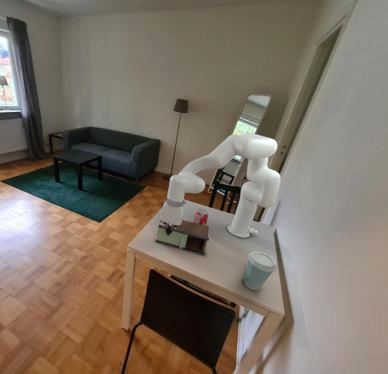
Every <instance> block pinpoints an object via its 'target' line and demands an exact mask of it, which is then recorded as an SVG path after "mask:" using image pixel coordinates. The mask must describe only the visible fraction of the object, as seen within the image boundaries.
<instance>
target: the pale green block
mask: <svg viewBox="0 0 388 374" xmlns="http://www.w3.org/2000/svg"><path fill="white" fill-rule="evenodd" d="M156 232H157V234H156V239H155V241H156V240H159V241H163V242H166V243H170V244H173V245H177V246H179V247H180V248H182V247H184V248H185V245H186V241H187V236H188V235H185V234H182V233H178V232H174V231H172V234H170V236H169V235H166V234H167V233H166V229H163V228H159V227H157V231H156Z"/></svg>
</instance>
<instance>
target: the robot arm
mask: <svg viewBox="0 0 388 374" xmlns="http://www.w3.org/2000/svg"><path fill="white" fill-rule="evenodd" d="M277 149H278V143H277V141H276V140H275V139H274V138H271V137H267V136H264V135H259V134H257V133H256V134H255V133H252V132H245V133H243V134H238V133H233V134H231V135H229V136H227V137H226V138H225V139H224V140H223V141H222V142H221V143H220V144H219V145H218V146H217V147H215V148H214V150H212V151H211V152H209V154H207V155H204V156H201V157H199V158H196V159H194V160H192V161H190V162H189V163H188V164H186V165H185V166H184V167H183V168H182V169H181V170H180V171H179V173H178V174H173V175H171V177H170V178H169V183H168V189H167V196H166V199H165V201H164V203H163V205H162V209H161V213H160V217H159V223H162V224H163V226H166V233H167V234H166V235H169V236H170V234H172V230H173V228H175V229H176V227H181V226H182V220H184V213H185V205H187V201H185V196H186V194H193V195H195V194H200V193H202V192H203V191H204V190H205V189H206V182H205V181H204V180H203V179H202V178H201V177H200V176H198V175H196V174H198V173H200V172H201V171H205V170H221V169H223V168H224V167H225V166H226V165H227V164H229V163H230V162H231V161H232V160H233V159H234V158H235V157H236V156H239V157H240V158H243V159H248V162H247V169H246V179H247V180H248V181H247V182H244V183H243V184H242V186H241V189H240V197H239V201H238V203H237V207H236V210H235V213H234V216H233V219H232V221H231V223H230V224H228V225H227V231H228V232H230V234H231V235H234V236H235V237H238V238H243V239H246V238H249V237H250V236H251V234H254V235H258V233H259V231H258V230H256V229H255V228H254V227H251V225H252V223H253V220H254V217H255V215H256V212H257V209H258V206H259V207H262V208H265V209H268V208H271V207H273V205H274V204H275V203H276V200H277V197H278V193H279V190H280V186H281V180H282V178H281V175H280V173H279V172H278V171H276V170H274V169H271V168H269V167H268V163H269V158H270V157H272V156H273V155H274V154H275V153H276V152H277Z"/></svg>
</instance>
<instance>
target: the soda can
mask: <svg viewBox="0 0 388 374" xmlns="http://www.w3.org/2000/svg"><path fill="white" fill-rule="evenodd" d="M208 219H209V211H208V209H204V208H198V209H197V210H196V212H195V216H194V219H193V223H197V224H201V225H205V226H207V223H208Z"/></svg>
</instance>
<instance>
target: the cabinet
mask: <svg viewBox="0 0 388 374" xmlns="http://www.w3.org/2000/svg"><path fill="white" fill-rule="evenodd" d="M158 227H159V228H163V229H166V226H165V225H164V224H163V225H162V224H160V223H159V224H158ZM158 227H157V228H158ZM209 229H210V226H209V225H206V226H205V225H201V224H197V223H194V221H193V222H192V221H189V220H185V219H183V220H182V226H181V227H175V228H173V230H172V231H174V232H178V233H182V234H185V235H188V236H187V241H186V245H185V248H184V247H182V248H180V247H179V246H177V245H173V244H170V243H166V242H163V241H159V240H156V239H155V242H156V243H158V244H162V245H166V246H168V247H171V248H176V249H179V250H183V251H186V252H190V253H193V254H197V255H200V256H205V255H206V252H205V250H206V246H207V242H208V241H210V237H209Z"/></svg>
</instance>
